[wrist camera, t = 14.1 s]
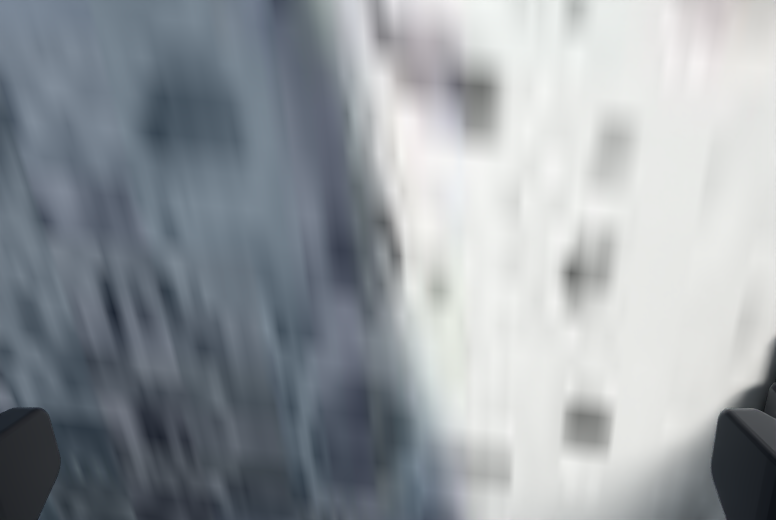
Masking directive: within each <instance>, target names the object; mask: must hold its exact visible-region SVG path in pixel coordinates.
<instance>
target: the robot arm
mask: <svg viewBox="0 0 776 520" xmlns="http://www.w3.org/2000/svg"><path fill="white" fill-rule="evenodd" d="M60 463H61V462H60V453H59V450H58V446H57V442H56V439H55V435H54V431H53V428H52V424H51V420H50V417H49V415H48V413H47V412H46V411H45V410H44V409H42V408H22V407H16V408H12V409H9V410H7V411H5V412H2V413H0V520H38V518H39V516H40V513H41V511H42V509H43V507H44V505H45V503H46V500H47V498H48V496H49V494H50V492H51V489H52V487H53V485H54V483H55V481H56V479H57V476H58V473H59V470H60ZM711 473H712V478H713V482H714V485H715V488H716V491H717V494H718V497H719V500H720V503H721V505H722V508H723V511H724V514H725V517H726V520H776V381H775V382H774V383H773V384H772V386H771V387H770V388H769V392H768V396H767V400H766V405H765V409H764V412H762V411H760V410H758V409H754V408H727V409H724V410H723V411H722V412H721V413H720V415H719V417H718V421H717V427H716V433H715V440H714V446H713V452H712V458H711Z"/></svg>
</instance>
